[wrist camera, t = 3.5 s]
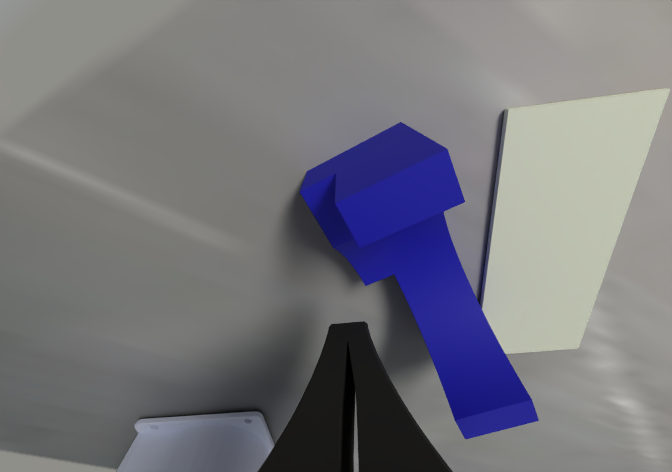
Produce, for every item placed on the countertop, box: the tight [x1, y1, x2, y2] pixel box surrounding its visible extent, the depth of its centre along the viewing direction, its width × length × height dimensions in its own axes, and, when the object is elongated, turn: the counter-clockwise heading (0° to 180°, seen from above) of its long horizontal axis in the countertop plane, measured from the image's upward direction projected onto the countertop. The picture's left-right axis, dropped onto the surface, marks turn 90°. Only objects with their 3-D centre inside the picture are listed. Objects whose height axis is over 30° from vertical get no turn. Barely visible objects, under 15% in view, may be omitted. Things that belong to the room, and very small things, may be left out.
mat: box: [480, 89, 670, 354], centre depth 15 cm, size 6×14×1 cm, turn 7°
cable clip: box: [300, 122, 539, 439], centre depth 12 cm, size 12×4×6 cm, turn 27°
